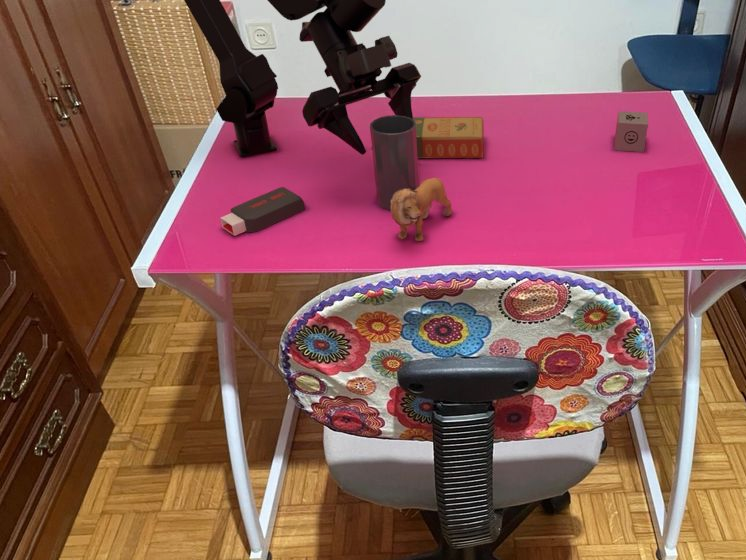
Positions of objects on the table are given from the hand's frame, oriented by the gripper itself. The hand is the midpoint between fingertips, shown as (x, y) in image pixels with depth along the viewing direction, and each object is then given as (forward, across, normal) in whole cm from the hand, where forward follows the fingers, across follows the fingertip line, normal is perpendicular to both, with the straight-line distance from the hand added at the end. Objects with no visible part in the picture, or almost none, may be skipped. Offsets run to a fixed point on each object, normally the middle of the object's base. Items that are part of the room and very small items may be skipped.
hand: (389, 144), depth 109 cm
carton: (0, +16, +12) cm, 20 cm away
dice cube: (+16, +42, -3) cm, 45 cm away
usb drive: (+1, -19, +12) cm, 22 cm away
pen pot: (+7, 0, +5) cm, 9 cm away
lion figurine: (+14, -3, -1) cm, 15 cm away
